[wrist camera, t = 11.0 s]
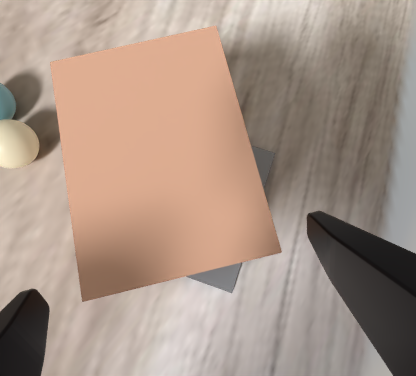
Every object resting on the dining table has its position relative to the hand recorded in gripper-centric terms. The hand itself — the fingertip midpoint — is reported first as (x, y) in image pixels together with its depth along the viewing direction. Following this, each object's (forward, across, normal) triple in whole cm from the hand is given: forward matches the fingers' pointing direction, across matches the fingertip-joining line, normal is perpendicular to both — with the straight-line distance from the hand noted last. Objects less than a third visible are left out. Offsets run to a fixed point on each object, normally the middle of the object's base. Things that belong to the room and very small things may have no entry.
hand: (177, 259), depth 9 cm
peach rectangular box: (+8, 0, +3) cm, 9 cm away
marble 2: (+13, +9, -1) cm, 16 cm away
